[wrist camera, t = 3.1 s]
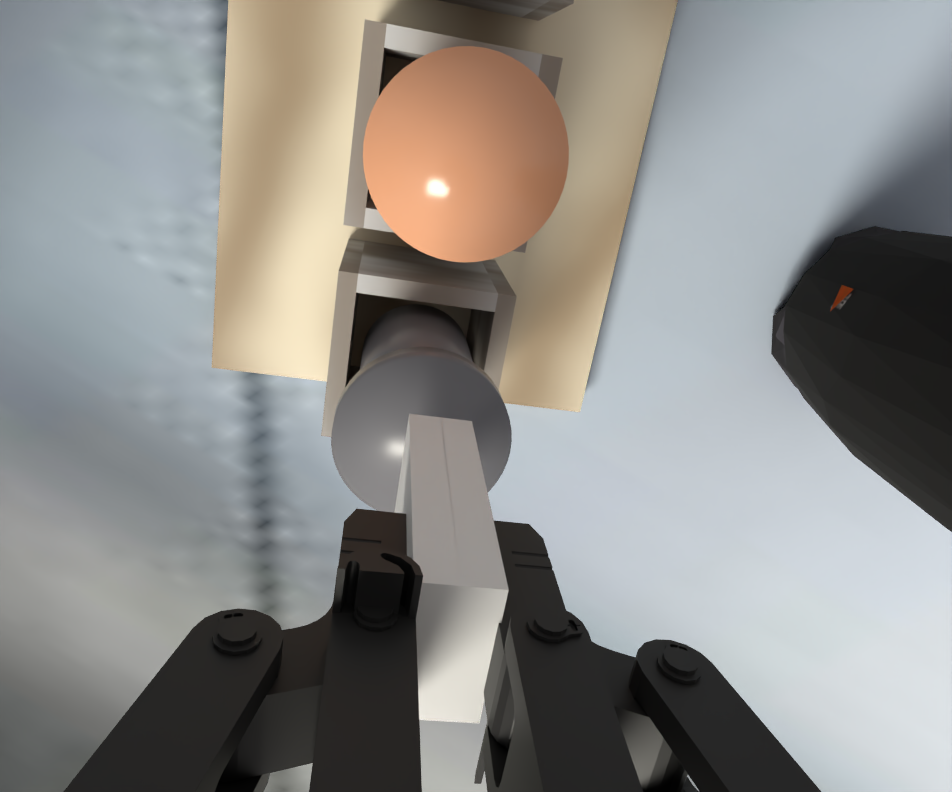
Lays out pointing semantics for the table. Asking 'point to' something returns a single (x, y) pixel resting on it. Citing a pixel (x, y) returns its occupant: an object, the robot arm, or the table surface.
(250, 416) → the table surface
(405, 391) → the plunger charcoal
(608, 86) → the board
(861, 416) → the portable speaker
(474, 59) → the plunger terracotta
